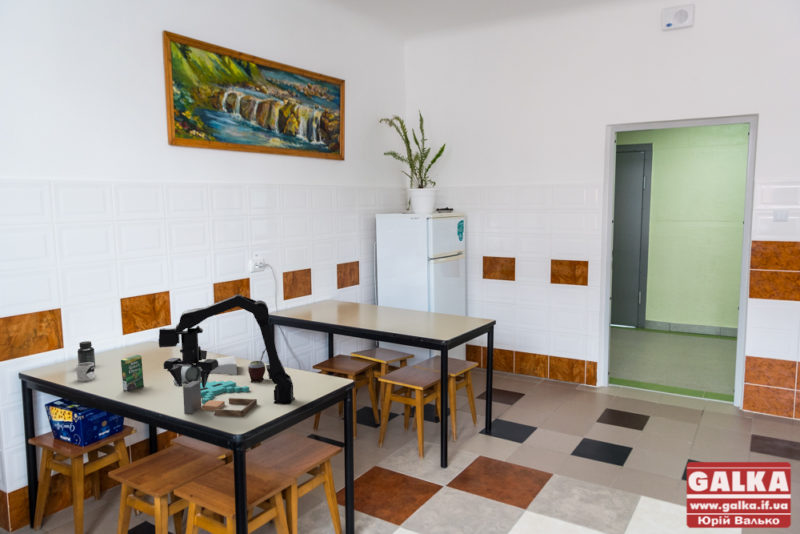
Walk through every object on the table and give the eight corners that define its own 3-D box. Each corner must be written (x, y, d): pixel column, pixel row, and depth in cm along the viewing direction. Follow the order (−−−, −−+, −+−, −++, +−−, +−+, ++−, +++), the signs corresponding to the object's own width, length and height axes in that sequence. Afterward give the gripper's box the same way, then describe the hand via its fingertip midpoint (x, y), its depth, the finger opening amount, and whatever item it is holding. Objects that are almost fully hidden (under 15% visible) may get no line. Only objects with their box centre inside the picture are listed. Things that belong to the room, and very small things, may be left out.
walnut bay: (256, 404, 222) (256, 399, 222) (242, 416, 210) (242, 411, 209) (229, 402, 224) (229, 397, 223) (214, 415, 211) (214, 409, 211)
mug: (89, 381, 251) (88, 366, 250) (74, 381, 251) (73, 366, 250) (101, 374, 261) (100, 360, 260) (86, 374, 260) (85, 360, 260)
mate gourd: (245, 380, 251) (244, 346, 249) (261, 376, 256) (260, 343, 254) (255, 384, 245) (253, 349, 244) (271, 380, 251) (270, 346, 249)
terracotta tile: (224, 406, 221) (224, 401, 221) (217, 411, 216) (217, 406, 215) (209, 405, 222) (209, 400, 222) (202, 411, 217) (201, 405, 216)
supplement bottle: (76, 368, 271) (74, 342, 269) (91, 364, 276) (90, 339, 274) (82, 371, 266) (80, 345, 265) (98, 367, 271) (96, 342, 270)
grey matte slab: (201, 407, 219) (200, 381, 218) (192, 414, 212) (190, 387, 211) (194, 406, 220) (192, 380, 218) (184, 413, 213) (182, 387, 212)
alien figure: (249, 392, 237) (220, 382, 250) (249, 386, 237) (220, 377, 250) (205, 405, 222) (177, 394, 235) (205, 400, 222) (176, 389, 234)
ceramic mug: (193, 377, 256) (192, 360, 255) (202, 381, 250) (201, 363, 249) (170, 383, 248) (168, 365, 247) (178, 387, 243) (177, 369, 242)
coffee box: (126, 391, 237) (124, 360, 236) (122, 390, 239) (120, 359, 237) (144, 386, 244) (142, 355, 243) (139, 385, 246) (137, 354, 244)
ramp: (182, 370, 268) (182, 358, 268) (210, 361, 281) (210, 350, 281) (224, 380, 253) (223, 368, 252) (251, 371, 266) (251, 359, 265)
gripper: (224, 340, 220) (226, 381, 221) (177, 339, 222) (180, 379, 224) (210, 348, 209) (212, 390, 210) (161, 346, 212) (164, 388, 213)
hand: (192, 386), depth 215 cm, fingers open, 9 cm apart
